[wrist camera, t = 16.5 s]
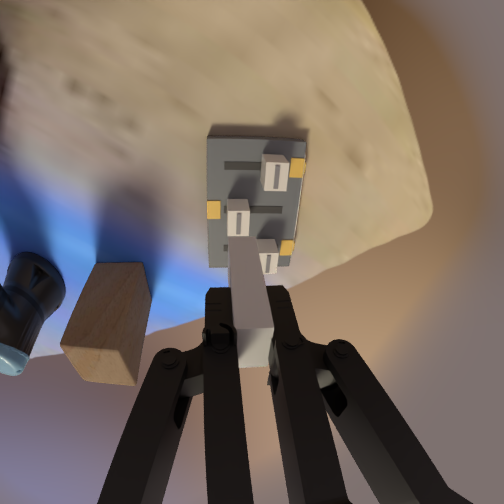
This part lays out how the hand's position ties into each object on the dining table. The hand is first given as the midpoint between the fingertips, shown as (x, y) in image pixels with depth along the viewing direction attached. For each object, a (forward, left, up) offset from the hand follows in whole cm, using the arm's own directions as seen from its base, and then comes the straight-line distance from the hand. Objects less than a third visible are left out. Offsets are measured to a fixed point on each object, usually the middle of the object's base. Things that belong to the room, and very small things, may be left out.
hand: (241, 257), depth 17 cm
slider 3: (+6, -17, -26) cm, 32 cm away
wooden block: (-20, -26, -29) cm, 44 cm away
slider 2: (+6, -3, -26) cm, 27 cm away
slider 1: (+2, -10, -26) cm, 28 cm away
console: (+4, -10, -28) cm, 30 cm away
